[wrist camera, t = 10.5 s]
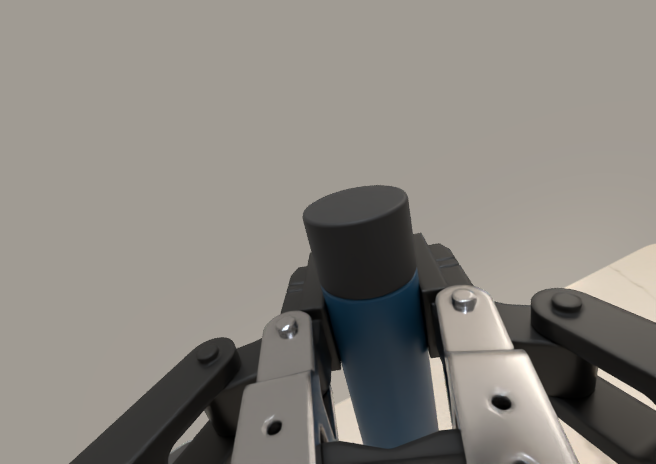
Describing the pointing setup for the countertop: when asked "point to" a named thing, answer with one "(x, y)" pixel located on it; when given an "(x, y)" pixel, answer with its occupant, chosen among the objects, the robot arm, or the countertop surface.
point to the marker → (375, 309)
